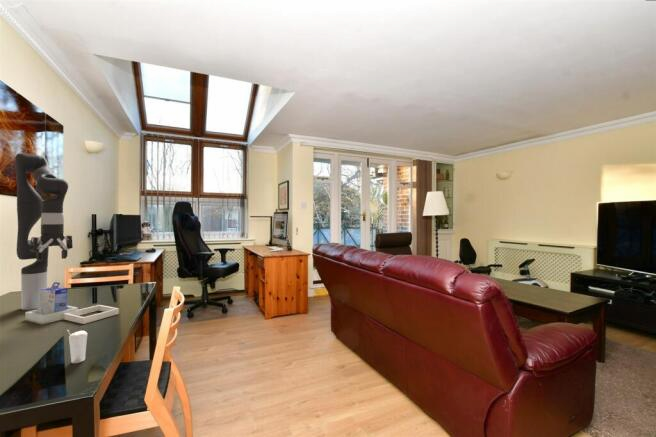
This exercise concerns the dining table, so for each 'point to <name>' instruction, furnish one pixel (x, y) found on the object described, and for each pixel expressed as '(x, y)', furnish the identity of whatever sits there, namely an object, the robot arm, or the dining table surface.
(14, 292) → the dining table surface
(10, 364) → the dining table surface
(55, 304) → the ink cartridge box
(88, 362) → the dining table surface
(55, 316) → the tray
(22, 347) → the dining table surface
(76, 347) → the milkshake
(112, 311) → the white square frame
